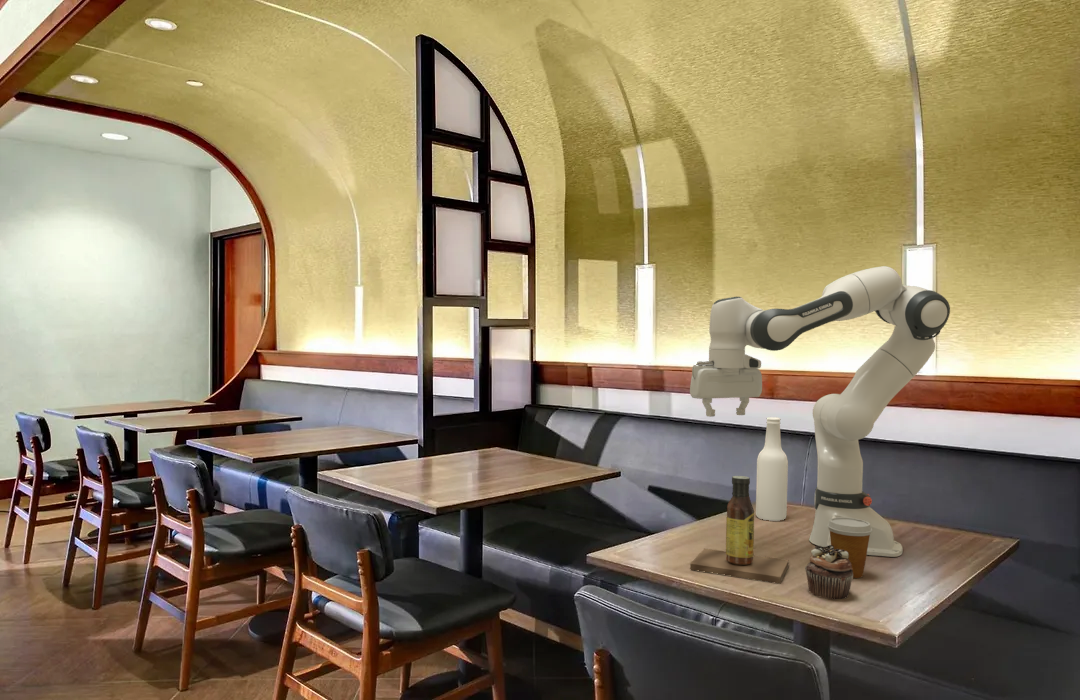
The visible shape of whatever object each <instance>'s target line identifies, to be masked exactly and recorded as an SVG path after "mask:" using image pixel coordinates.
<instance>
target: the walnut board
mask: <svg viewBox="0 0 1080 700" xmlns="http://www.w3.org/2000/svg"><path fill="white" fill-rule="evenodd" d="M726 556H727V554H726V550H717V549H711V548H703V550H701V552H700V553H699V554H698V555H697V556H696V557H695V558H694V559H693V560H692V561H691V562H690V568H689V569H691V570H690V571H693V570H699V571H698V572H700V571H705V572H704V573H706V572H713V573H718V574H717V575H719V574H725V575H724V576H726V575H731V576H730V577H732V576H736V577H735V578H739V577H742V578H741V579H745V578H749V579H748V580H752V579H755V580H754V581H758V580H762V581H761V582H765V581H768V582H767V583H772V582H775V583H774V584H778V583H780V584H781V583H782V581H783V579H784V577H785V575H786V573H787V571H788V569H789V566H790V560H789V559H783V558H776V557H769V556H762V555H756V554H755V555H754V554H753V561H752V563H751V564H748V565H736V564H732V563H729V562H728V561H727V560H726ZM713 573H712V574H713Z"/></svg>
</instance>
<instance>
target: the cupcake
mask: <svg viewBox="0 0 1080 700" xmlns="http://www.w3.org/2000/svg"><path fill="white" fill-rule="evenodd" d="M810 551H811V556H809V563H807V564H806V566H805V568H804V569H805V574H806V579H807V586H808V592H809V593H810V594H812V595H813V594H814V596H816V595H817V596H816V597H819V598H823V599H826V600H827V599H828V600H842V599H847V598H848V597H849V594H850V590H851V585H852V581H853V579H854V578H853V570H852V565H851V562H850V561H849V559H848V555H849V554H848V552H847V551H844V549H843V550H841V549H835V550H834V546H832V545H829V546H827V547H822V546H818V545H817V546H815V547H814V548H813V549H812V550H810Z"/></svg>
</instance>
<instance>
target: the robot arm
mask: <svg viewBox="0 0 1080 700" xmlns="http://www.w3.org/2000/svg"><path fill="white" fill-rule="evenodd" d="M949 303H950V302H949V301H948V300H947V298H946V297H944V296H943V295H941V294H940V293H939V292H937V291H935V290H929V289H927V288H923V287H920V286H915V285H907V284H903V281H902V278H901V276H900V274H899V273H898V272H897V271H896V269H894V268H892V267H890V266H886V265H882V266H875V267H871V268H866V269H861V270H857V271H855V272H852V273H849V274H846V275H844V276H842V277H839V278H837V279H836V280H834V281H832V282H830V283H828V284H827V285H826V286H825V287H824V288H823V291H822V293H821V297H819V298H816V299H815V300H812V301H808V302H807V303H805V304H801V305H799V306H796V307H794V308H789V309H787V308H769V309H762V308H760V307H757V306H755V305H753V304H752V303H750V302H748V301H747V300H745V299H744V298H743V297H742V296H732V297H731V296H730V297H724V298H721V299H717V300H715V302H714V303H712V306H711V309H710V315H709V330H708V332H709V336H710V343H709V347H708V361H707V360H706V361H702V360H701V361H700V360H699V361H697V362H696V363H694V364H693V366H692V369H691V380H690V386H689V387H690V388H689V394H690V396H691V398H692V399H699V400H700V399H701V401H702V404H703V407H704V408H705V414H706V415H705V416H706V417H709V418H710V417H712V418H713V417H715V416H716V409H713V407H712V403H713V399H731V398H734V399H735V398H737V399H738V398H739V402H740V404H739V406H738V407H736V410H735V412H736V413H735V414H736V416H745V415H746V408H747V407H748V405H749V403H750V398H759V397H760V396H761V394H762V392H763V391H762V390H763V375H762V372H761V370H760V369H761V368H762V361H761V360H760V359H758V358H755V357H753V356H751V355H748V354H746V346H750V347H752V348H754V349H763V350H764V349H765V350H766V351H770V352H771V351H772V352H775V351H781V350H784V349H785V348H788V347H789V346H790V345H791V344H792V343H793V342H794V341H795V340H797V338H799V336H801V335H802V334H804V333H806V332H809V331H811V330H813V329H816V328H818V327H821V326H824V325H825V324H826V325H827V324H828V323H831V322H842V321H849V320H854V319H856V318H860V317H863V316H865V315H868V314H871V313H873V312H875V315H877V316H878V318H879V319H880V320H881V321H883V322H885V323H887V324H889V325H890V324H891V325H893V326H894V327H893V332H892V334H891V335H890V337H889V338H888V340H886V341H885V342H884V343H883V344H882V345H881V346H880V347H879V348H878V349H877V350H876V351H875V352H874V353H873V354H872V355H870V357H869V358H868V359H867V360H866V361H865V362H863V364H862V365H861V366H859V367H858V368H857V370H856V371H855V374H854V376H853V377H852V379H851V381H850V382H849V384H848V385H847V386H846V388H845V389H844V390H843V391H842V392H841V393H831V394H830V393H829V394H827V395H824V396H822V397H820V398H819V399H818V400H817V401H816V402H815V403H814V405H813V408H812V418H813V425H814V426H813V427H814V437H815V446H816V451H817V454H816V455H817V475H816V476H817V479H816V481H817V486H816V488H815V491H814V502H813V503H814V509H815V513H814V521H813V526H812V529H811V532H810V536H809V538H808V540H809V542H811V543H812V544H813V545H816V546H817V547H818V546H822V547H827V546H829V545H831V539H830V530H829V528H828V524H829V522H830V519H832V518H840V517H842V518H854V519H860V520H864V521H866V522H869V523H870V526H871V529H872V532H871V534H870V536H869V542H868V548H867V555H866V556H868V555H869V556H877V557H878V556H879V557H888V558H889V557H891V558H897V557H899V556H901V555H903V544H901V543H900V542H898V541H897V540H895V538H894V532H893V528H892V526H891V525H890V523H889V522H888V521H887V520H886V519H885V518H883V517H882V516H881V515H880V514H879V513H878V512H876V511H875V510H874V509H873V508H872V507H870V506H871V505H872V501H873V500H872V498H871V495H870V493H866V492H864V490H863V475H864V474H863V473H864V460H863V457H862V455H861V449H860V444H859V443H860V441H859V440H862V439H865V438H866V437H867V436H869V435H870V433H871V432H872V430H873V429H874V424H875V423H876V421H877V420H878V419H879V417H880V416H881V415H882V413H883V411H884V410H885V408H886V407H887V406H888V404H889V403H890V402H891V401H892V399H894V398H895V396H897V394H898V393H899V392H900V391H901V390H902V389H903V388H904V387H905V386H906V385H907V384H908V383H909V382H910V381H911V380H912V379H913V378H914V377H915V376H916V375H917V374H918V373H919V372H920V371H921V369H923V367H924V366H925V365H926V364H927V363H928V361H929V360H930V359H931V356H932V355H933V354H934V351H935V350H936V349H935V348H936V342H935V340H934V338H935V337H937V336H939V335H940V332H941V331H942V329H943V328H944V327H945V326H946V325H947V322H948V320H949V318H950V314H951V306H950V304H949Z"/></svg>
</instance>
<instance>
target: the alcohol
mask: <svg viewBox="0 0 1080 700" xmlns="http://www.w3.org/2000/svg"><path fill="white" fill-rule="evenodd" d="M781 439H782V438H781V418H780V417H777V416H776V417H775V416H768V417H767V418H766V430H765V440H764V446H763V448H762V449H761V451H760V452H759V453H758V455H757V459H756V491H755V492H756V493H755V515H756V517H757V519H759V520H762V519H763V520H762V521H766V520H769V521H768V522H781V521H780V520H783V521H784V519H786V518H787V511H788V510H787V509H788V505H787V504H788V477H789V476H788V475H789V474H788V473H789V471H788V470H789V460H788V456H787V454H786V452H785V451H784V450H783V449H782V441H781Z"/></svg>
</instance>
